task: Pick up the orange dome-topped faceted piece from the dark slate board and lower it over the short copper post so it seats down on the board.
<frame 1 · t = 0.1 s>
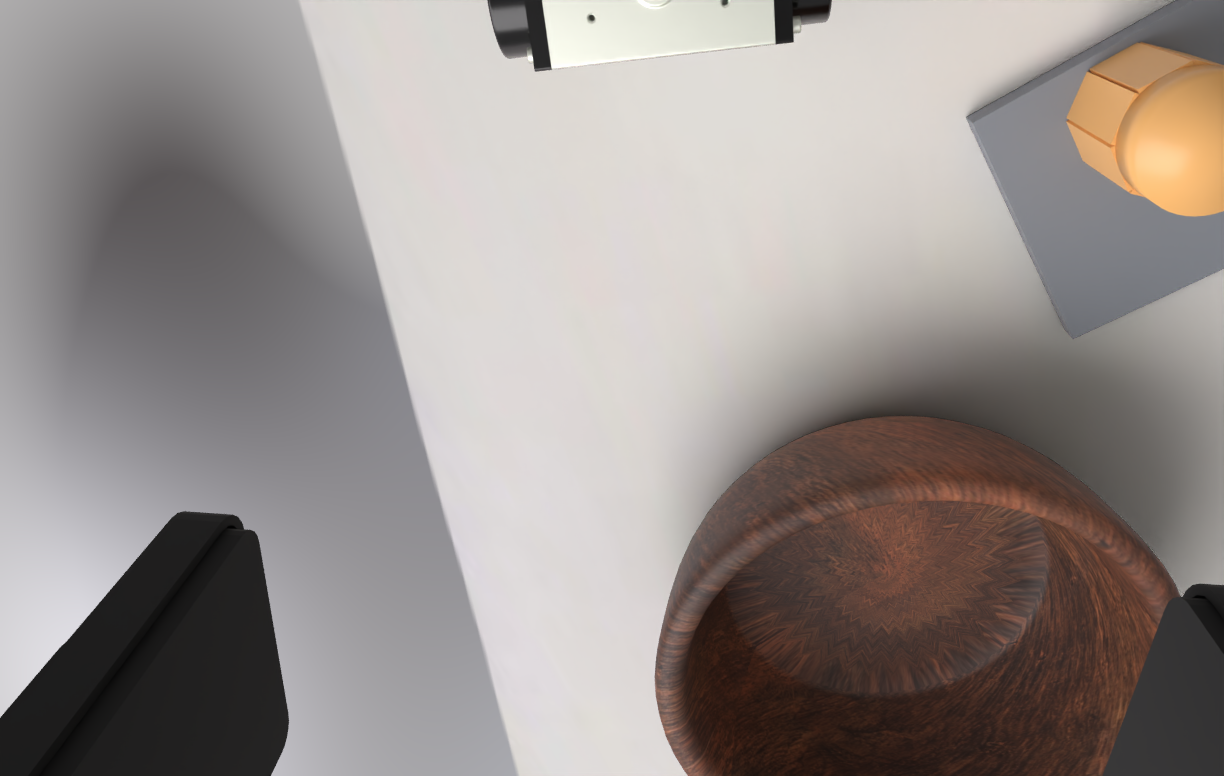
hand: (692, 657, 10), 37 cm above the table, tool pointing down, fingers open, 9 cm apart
orange dome-topped faceted piece: (1134, 109, 41), point 1 cm above the table, touching board
wooden bowl: (879, 564, 55), on the table
board: (1214, 127, 42), on the table
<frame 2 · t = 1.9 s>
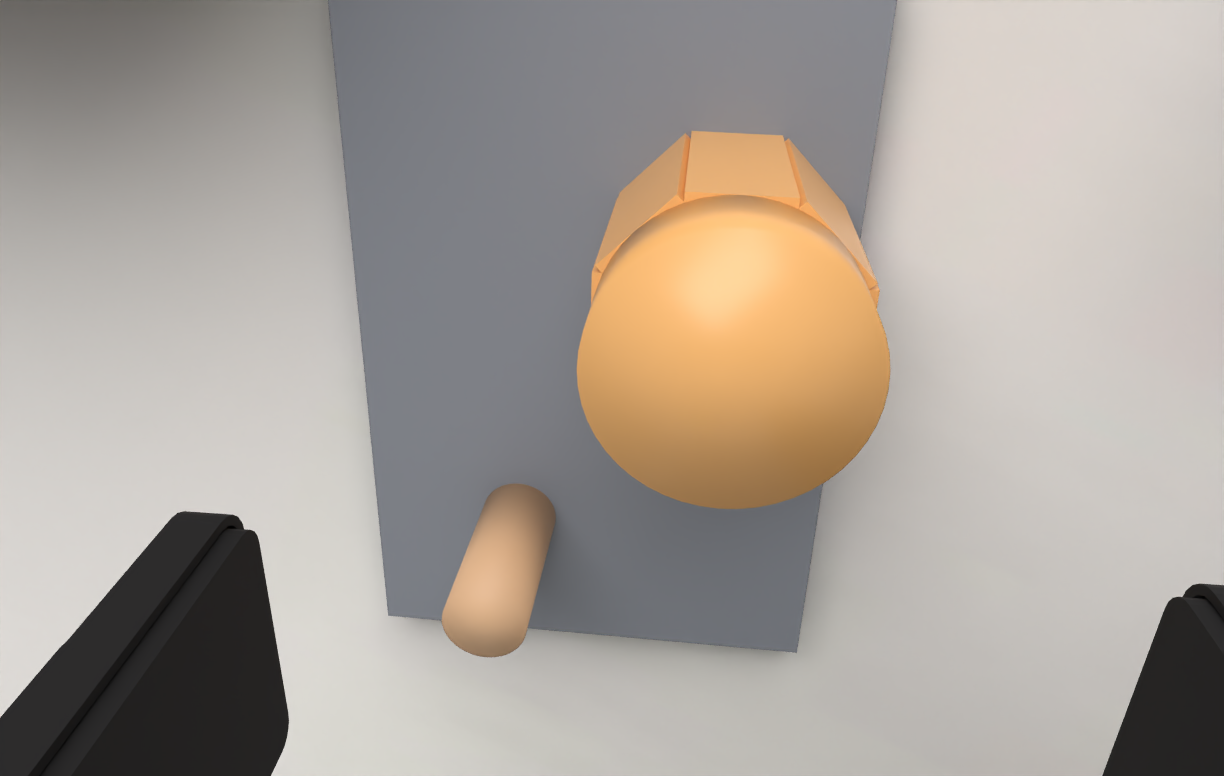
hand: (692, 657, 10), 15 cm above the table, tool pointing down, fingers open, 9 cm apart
orange dome-topped faceted piece: (727, 246, 22), point 1 cm above the table, touching board
board: (601, 334, 25), on the table
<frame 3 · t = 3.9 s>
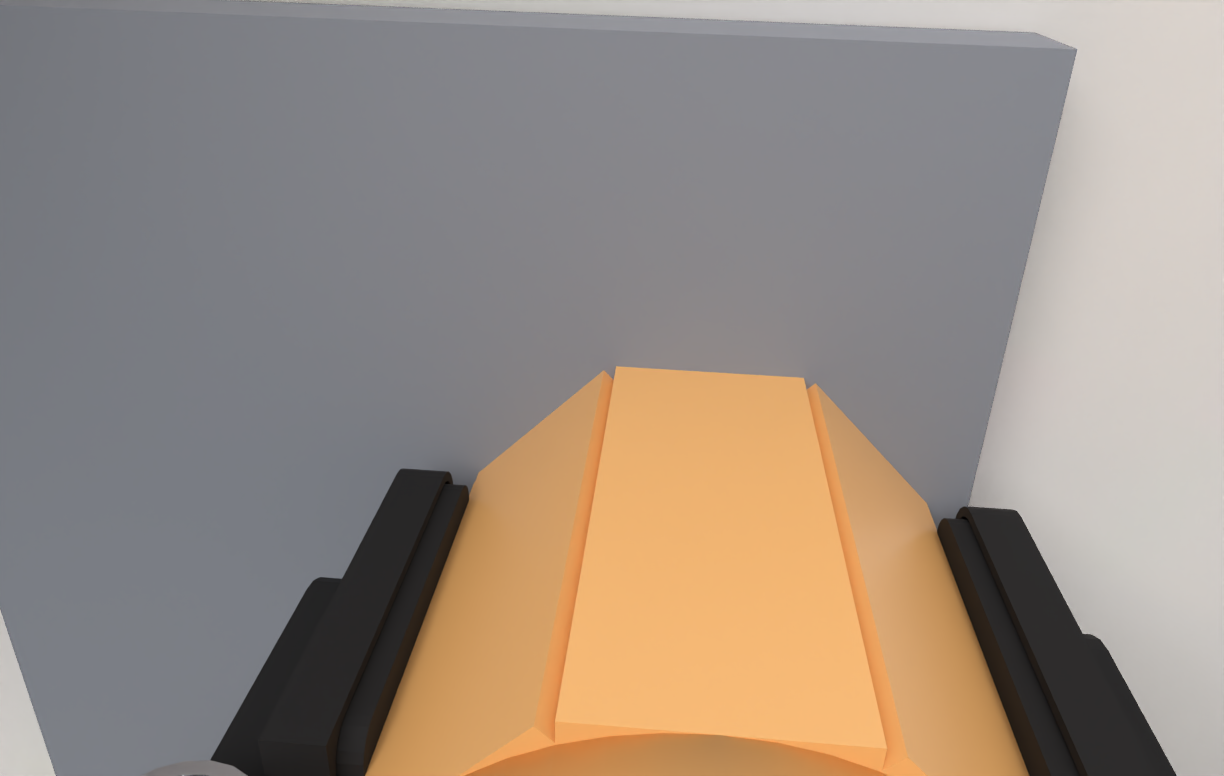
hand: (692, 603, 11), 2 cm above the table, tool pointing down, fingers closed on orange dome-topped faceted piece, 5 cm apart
orange dome-topped faceted piece: (692, 567, 11), point 1 cm above the table, touching board, gripper
board: (474, 666, 14), on the table
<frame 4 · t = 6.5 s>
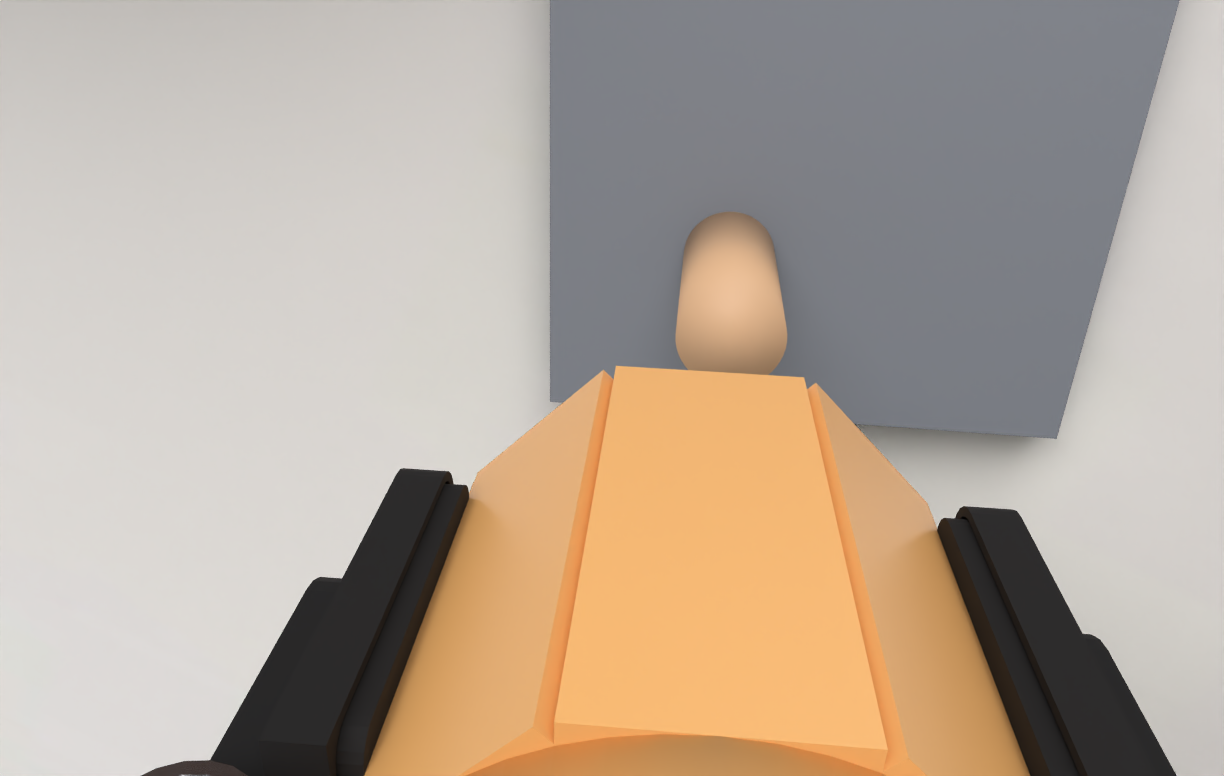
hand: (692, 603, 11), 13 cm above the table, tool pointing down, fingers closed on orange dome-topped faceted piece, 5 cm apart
orange dome-topped faceted piece: (692, 567, 11), point 12 cm above the table, touching gripper
board: (845, 12, 20), on the table
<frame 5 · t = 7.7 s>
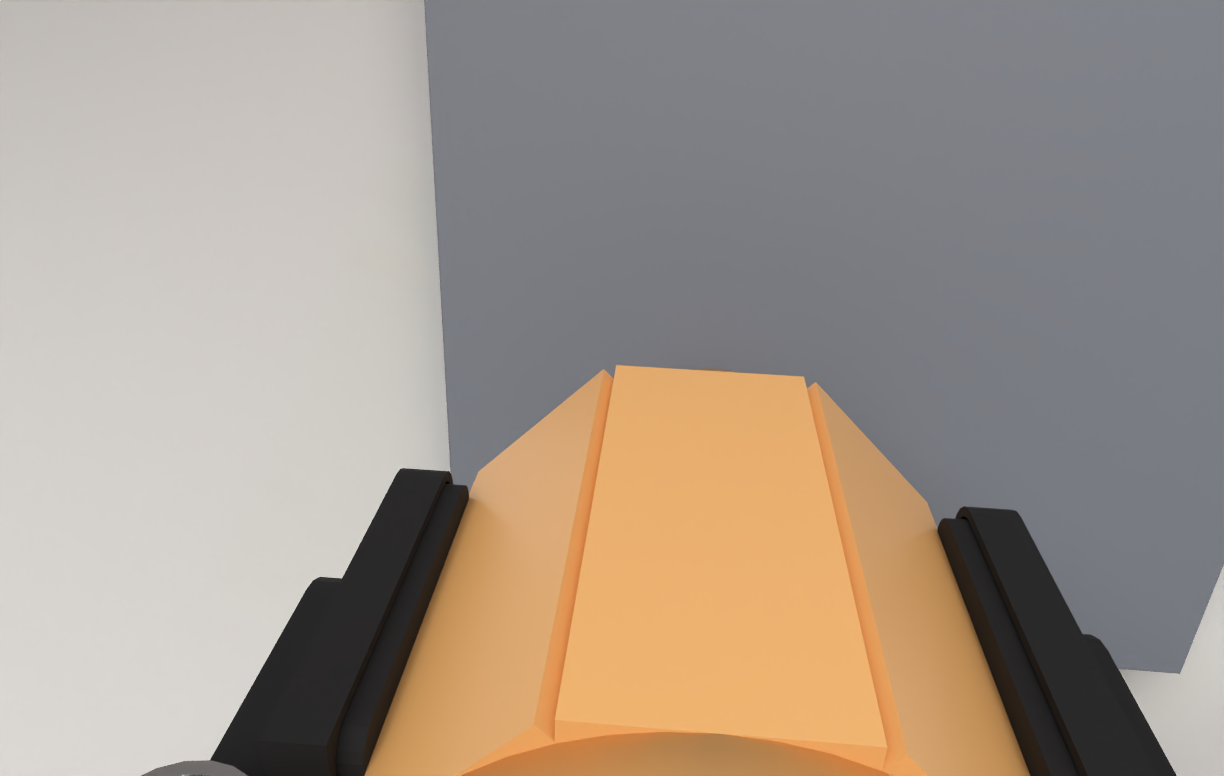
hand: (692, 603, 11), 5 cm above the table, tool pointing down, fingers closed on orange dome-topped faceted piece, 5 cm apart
orange dome-topped faceted piece: (692, 566, 11), point 5 cm above the table, touching gripper
board: (884, 75, 13), on the table
when the fingers open (3 cm above the table, at t = 8.9 s): orange dome-topped faceted piece drops 2 cm, resting on board.
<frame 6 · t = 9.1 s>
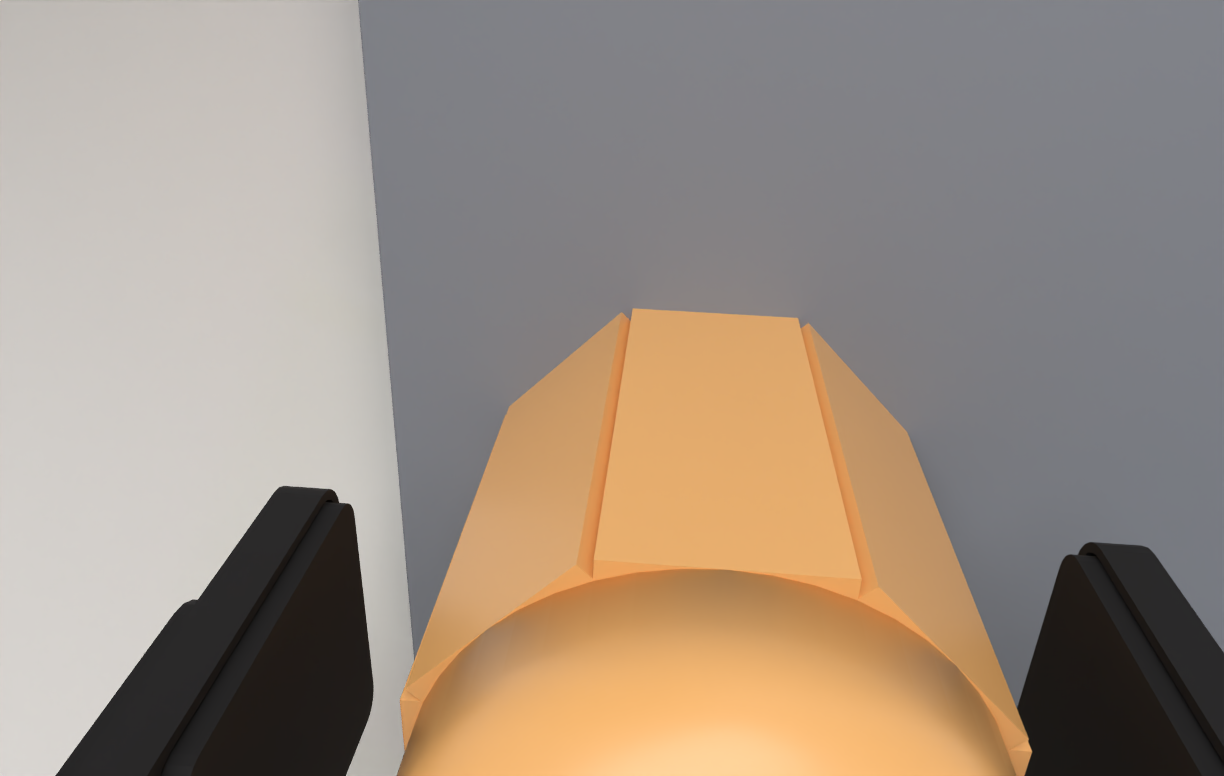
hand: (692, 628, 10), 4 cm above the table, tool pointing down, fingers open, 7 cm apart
orange dome-topped faceted piece: (699, 493, 13), point 1 cm above the table, touching board
board: (888, 101, 11), on the table
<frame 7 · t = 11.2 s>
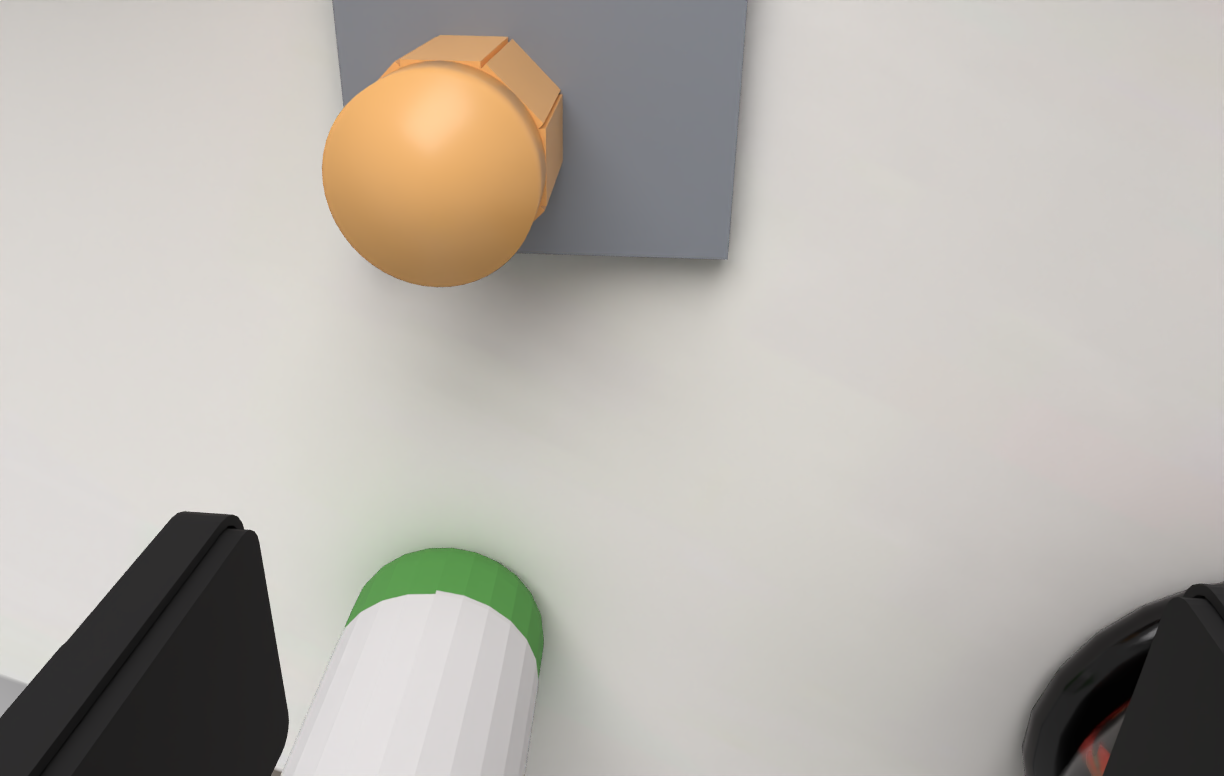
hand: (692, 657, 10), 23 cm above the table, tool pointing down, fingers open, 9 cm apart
wine bottle: (454, 609, 40), on the table
orange dome-topped faceted piece: (477, 125, 29), point 1 cm above the table, touching board
black vase: (1210, 714, 41), on the table
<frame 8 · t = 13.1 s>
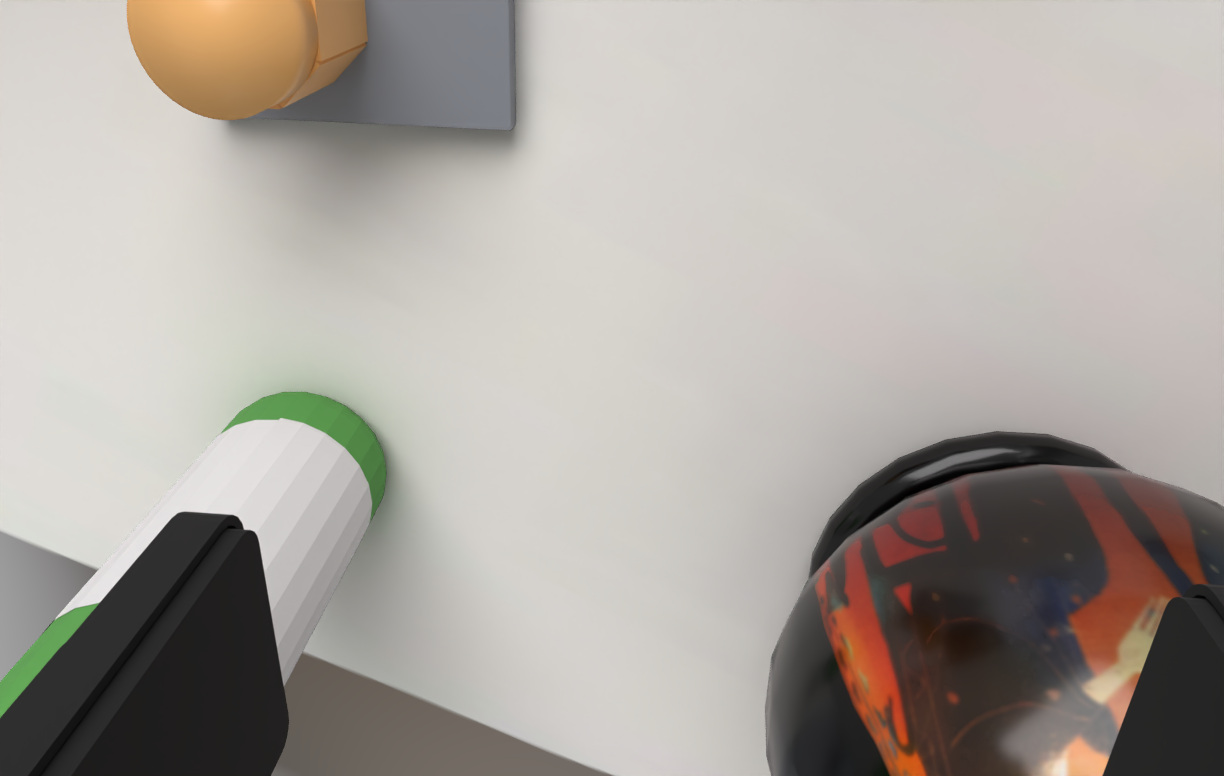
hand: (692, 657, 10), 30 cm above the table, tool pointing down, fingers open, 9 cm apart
wine bottle: (315, 452, 46), on the table
orange dome-topped faceted piece: (296, 9, 35), point 1 cm above the table, touching board
black vase: (977, 567, 46), on the table
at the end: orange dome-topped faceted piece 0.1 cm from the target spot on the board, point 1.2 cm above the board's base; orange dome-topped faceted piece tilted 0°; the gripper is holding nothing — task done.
